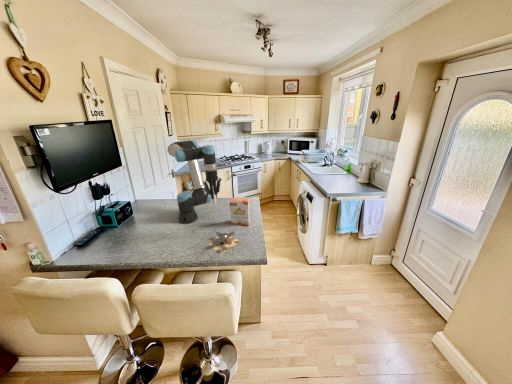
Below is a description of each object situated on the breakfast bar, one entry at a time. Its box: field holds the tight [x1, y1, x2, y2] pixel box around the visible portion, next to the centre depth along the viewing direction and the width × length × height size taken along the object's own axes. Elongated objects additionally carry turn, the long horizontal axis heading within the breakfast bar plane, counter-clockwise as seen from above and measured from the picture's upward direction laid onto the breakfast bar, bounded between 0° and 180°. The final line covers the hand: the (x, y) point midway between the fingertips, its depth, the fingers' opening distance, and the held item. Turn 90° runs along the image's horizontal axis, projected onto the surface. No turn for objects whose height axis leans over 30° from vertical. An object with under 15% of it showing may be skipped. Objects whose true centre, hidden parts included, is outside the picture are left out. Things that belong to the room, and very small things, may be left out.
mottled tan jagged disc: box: [206, 232, 242, 255], centre depth 132 cm, size 17×17×3 cm
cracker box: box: [229, 197, 251, 227], centre depth 152 cm, size 14×6×21 cm, turn 84°
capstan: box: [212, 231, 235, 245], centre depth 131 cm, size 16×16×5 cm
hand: (214, 202), depth 138 cm, fingers closed
